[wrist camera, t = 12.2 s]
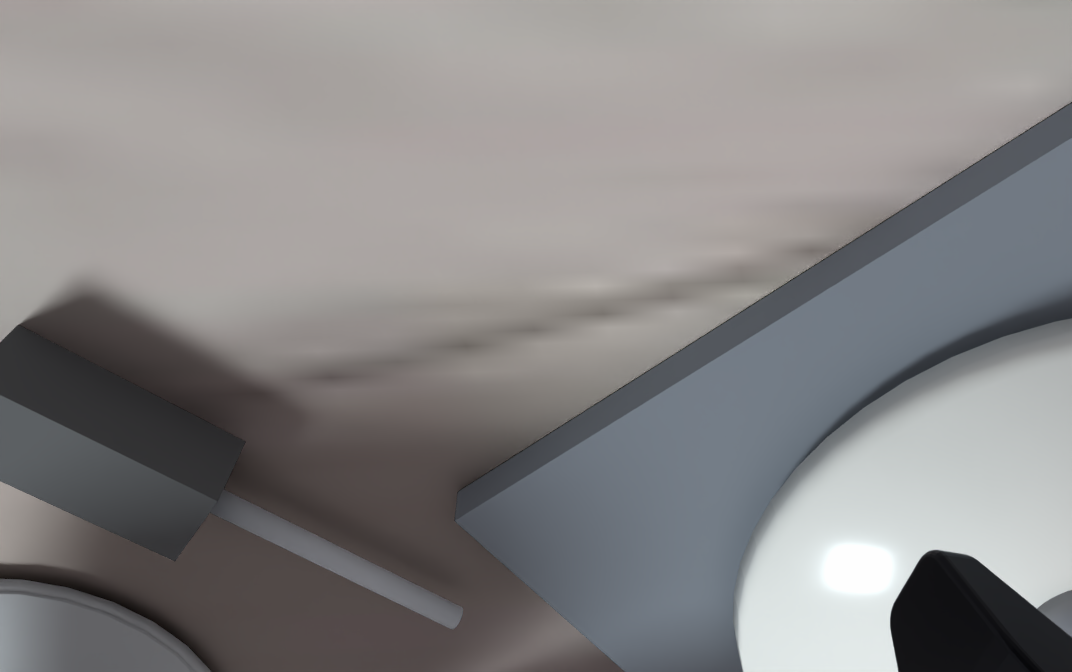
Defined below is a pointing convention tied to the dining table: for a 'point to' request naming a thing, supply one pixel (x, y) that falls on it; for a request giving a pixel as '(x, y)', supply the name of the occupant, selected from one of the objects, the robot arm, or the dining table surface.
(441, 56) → the dining table surface
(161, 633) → the chalice
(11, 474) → the screwdriver
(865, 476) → the dial
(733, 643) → the board
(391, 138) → the dining table surface
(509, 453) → the dining table surface
